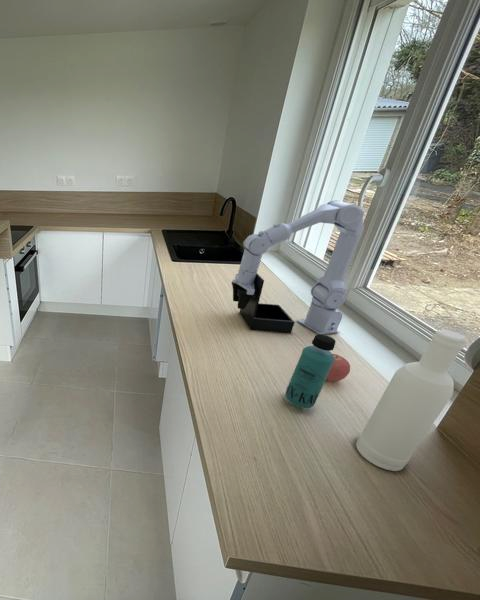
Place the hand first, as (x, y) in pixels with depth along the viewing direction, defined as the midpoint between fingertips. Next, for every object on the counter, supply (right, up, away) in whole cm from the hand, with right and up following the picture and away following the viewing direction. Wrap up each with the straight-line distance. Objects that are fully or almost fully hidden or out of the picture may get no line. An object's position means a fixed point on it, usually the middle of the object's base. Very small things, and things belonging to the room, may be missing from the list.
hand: (238, 304), depth 117 cm
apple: (+12, -21, -27) cm, 36 cm away
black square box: (+10, -7, +2) cm, 12 cm away
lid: (+4, +5, -3) cm, 7 cm away
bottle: (+5, -31, -49) cm, 59 cm away
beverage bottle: (-3, -25, -36) cm, 44 cm away
